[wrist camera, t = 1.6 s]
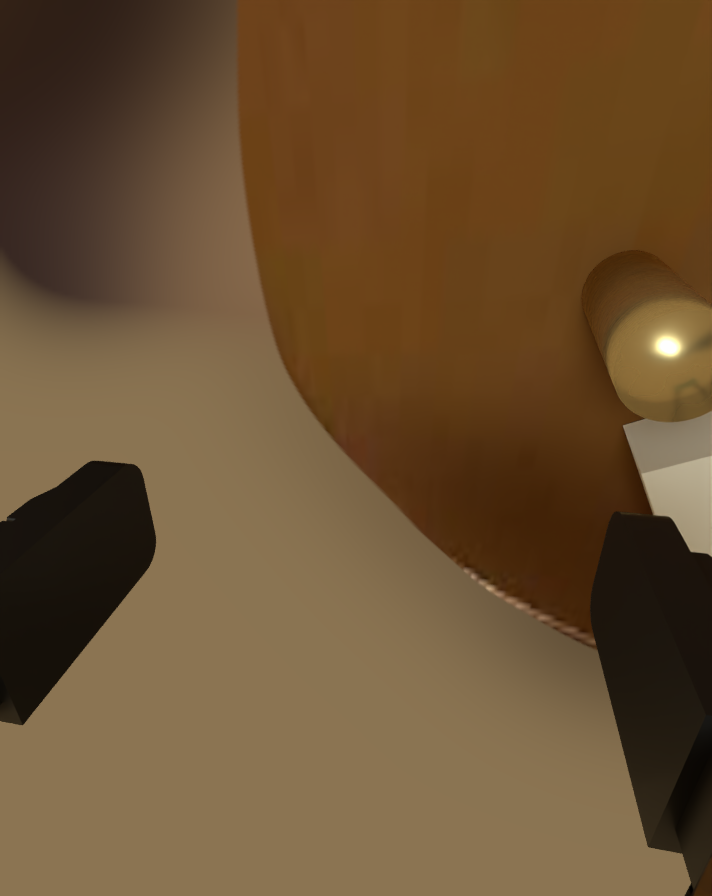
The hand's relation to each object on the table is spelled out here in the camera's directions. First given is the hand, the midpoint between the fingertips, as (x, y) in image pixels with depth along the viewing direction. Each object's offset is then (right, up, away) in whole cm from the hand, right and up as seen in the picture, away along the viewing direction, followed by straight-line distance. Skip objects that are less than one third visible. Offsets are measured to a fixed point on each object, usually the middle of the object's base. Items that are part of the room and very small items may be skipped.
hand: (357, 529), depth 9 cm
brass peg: (+13, +9, +17) cm, 24 cm away
